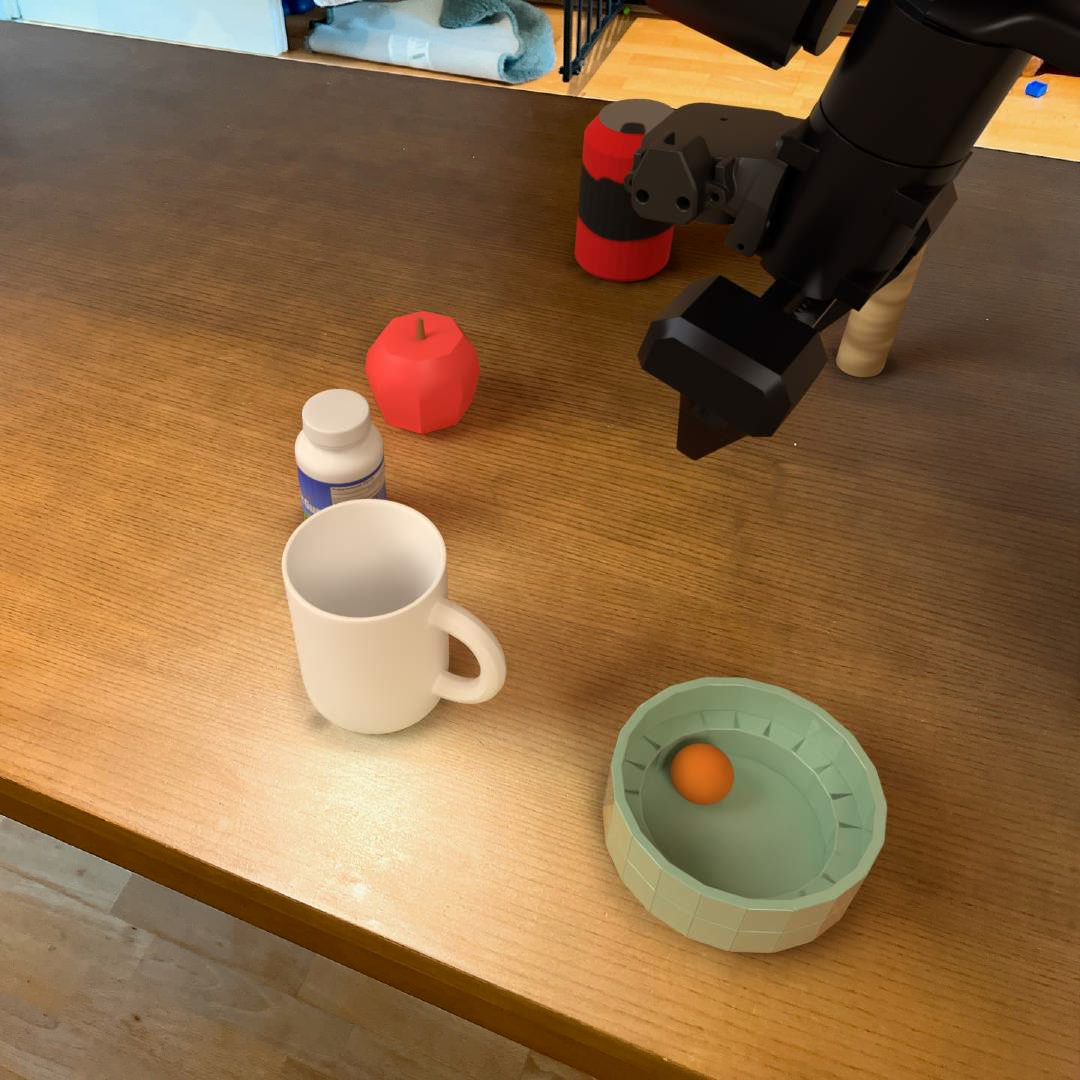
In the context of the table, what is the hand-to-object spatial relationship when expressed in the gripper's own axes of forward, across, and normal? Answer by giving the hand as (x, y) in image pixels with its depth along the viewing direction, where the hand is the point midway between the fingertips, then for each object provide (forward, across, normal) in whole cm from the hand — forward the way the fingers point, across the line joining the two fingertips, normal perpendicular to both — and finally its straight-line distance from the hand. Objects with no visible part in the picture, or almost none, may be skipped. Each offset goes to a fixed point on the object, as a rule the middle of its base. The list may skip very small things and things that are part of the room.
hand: (731, 401), depth 53 cm
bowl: (+12, +13, +12) cm, 21 cm away
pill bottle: (+19, +7, -16) cm, 26 cm away
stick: (+14, -26, +3) cm, 30 cm away
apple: (+20, -4, -19) cm, 28 cm away
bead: (+11, +12, +9) cm, 18 cm away
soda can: (+19, -29, -17) cm, 39 cm away
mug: (+17, +15, -6) cm, 23 cm away
